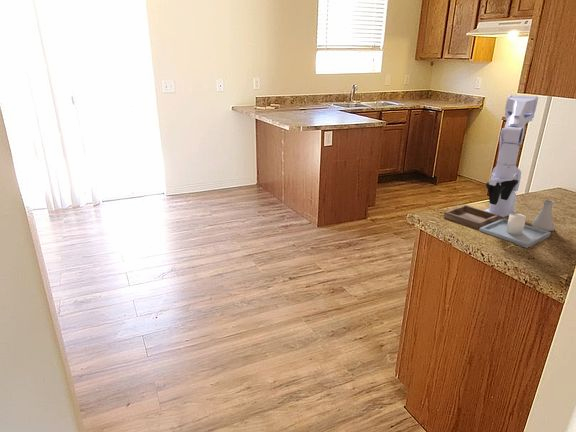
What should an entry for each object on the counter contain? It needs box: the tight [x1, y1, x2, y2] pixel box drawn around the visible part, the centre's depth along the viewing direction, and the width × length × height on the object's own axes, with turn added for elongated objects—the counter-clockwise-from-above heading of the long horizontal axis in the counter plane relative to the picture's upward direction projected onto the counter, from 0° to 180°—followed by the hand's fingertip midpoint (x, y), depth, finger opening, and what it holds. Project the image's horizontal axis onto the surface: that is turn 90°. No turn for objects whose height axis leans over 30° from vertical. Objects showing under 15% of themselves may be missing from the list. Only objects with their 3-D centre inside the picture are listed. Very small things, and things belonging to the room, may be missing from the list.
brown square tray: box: [443, 204, 500, 230], centre depth 152 cm, size 14×14×2 cm
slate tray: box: [478, 217, 552, 249], centre depth 140 cm, size 16×16×2 cm
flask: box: [531, 199, 555, 232], centre depth 144 cm, size 7×7×10 cm
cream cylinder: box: [506, 212, 527, 235], centre depth 139 cm, size 5×5×6 cm
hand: (498, 201), depth 144 cm, fingers open, 7 cm apart
